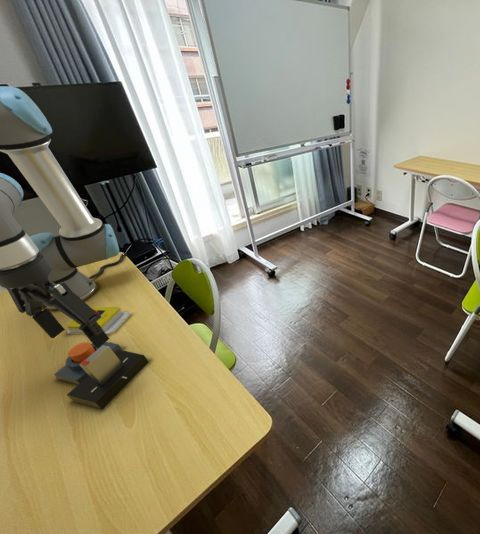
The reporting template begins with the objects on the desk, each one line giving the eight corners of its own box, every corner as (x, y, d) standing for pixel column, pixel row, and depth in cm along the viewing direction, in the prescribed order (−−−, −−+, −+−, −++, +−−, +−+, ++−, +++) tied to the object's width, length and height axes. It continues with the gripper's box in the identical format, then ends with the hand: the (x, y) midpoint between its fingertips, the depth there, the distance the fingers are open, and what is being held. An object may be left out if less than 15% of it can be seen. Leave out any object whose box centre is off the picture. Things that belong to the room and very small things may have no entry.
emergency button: (82, 303, 96) (125, 303, 95) (89, 313, 99) (132, 313, 98) (57, 324, 89) (104, 324, 88) (66, 334, 91) (111, 334, 90)
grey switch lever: (117, 363, 78) (102, 344, 73) (123, 365, 77) (108, 345, 73) (96, 383, 73) (78, 364, 68) (102, 385, 72) (85, 365, 68)
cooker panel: (123, 356, 83) (117, 348, 82) (153, 362, 81) (148, 355, 79) (73, 401, 72) (66, 394, 71) (107, 411, 70) (100, 403, 68)
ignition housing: (100, 344, 87) (93, 335, 85) (122, 349, 86) (115, 339, 83) (58, 379, 78) (49, 370, 76) (81, 385, 76) (72, 376, 74)
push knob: (86, 346, 82) (81, 340, 81) (99, 349, 81) (94, 343, 80) (68, 360, 78) (63, 354, 77) (82, 364, 77) (77, 358, 76)
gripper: (-57, 264, 55) (22, 341, 67) (41, 280, 49) (107, 361, 62) (-8, 244, 61) (56, 318, 73) (84, 256, 55) (137, 334, 68)
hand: (80, 338), depth 67 cm, fingers open, 13 cm apart
